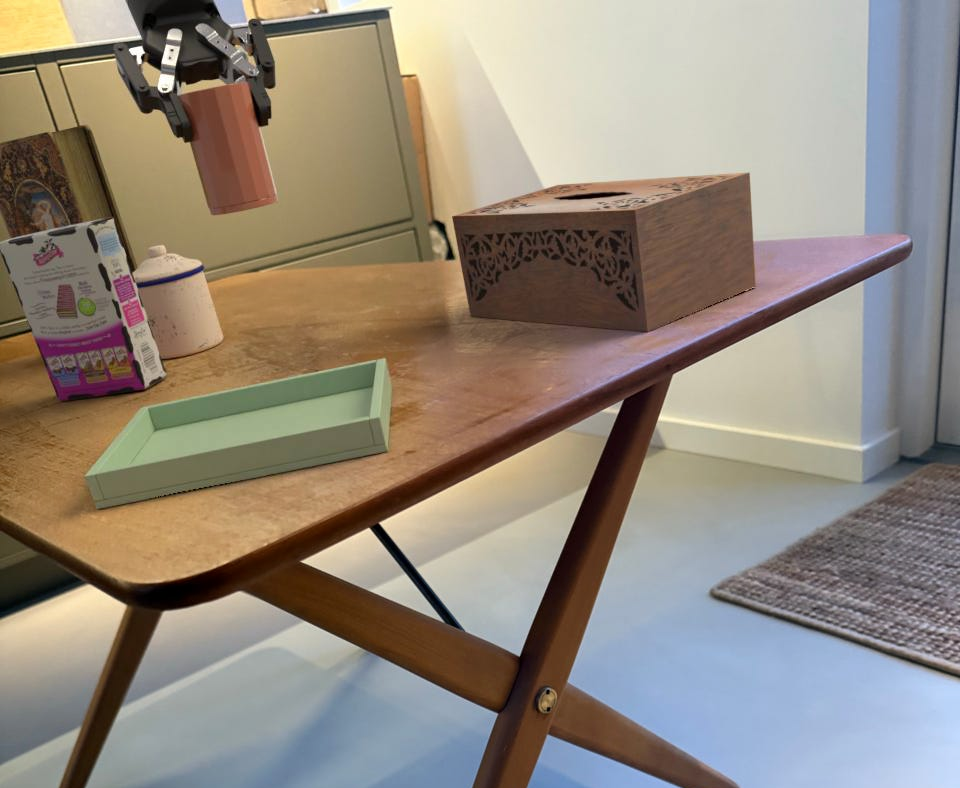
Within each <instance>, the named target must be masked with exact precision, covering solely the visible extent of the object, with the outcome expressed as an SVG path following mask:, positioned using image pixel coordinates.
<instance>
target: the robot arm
mask: <svg viewBox="0 0 960 788" xmlns="http://www.w3.org/2000/svg"><path fill="white" fill-rule="evenodd" d="M124 1H125V3H126V5H127V8H128V11H129V12H130V15H131V18H132V19H133V22H134V24H135V26H136V28H137V32H138V34H139V35H140V38H141V40H142V41H141V45H139V46H135V47H131V48H129V47H128V45H127V44H125V43H124V42H116V43H115V44H114V45H113V48H112V49H113V52H114V57H115V62H116V63H115V64H116V67H117V72H118V74H119V75H120V77H121V79H122V81H123V83H124V84H125V87H126V88H127V90H128V92H129V94H130V95H131V97H132V99H133V101H134V103H135V104H136V106H137V108H138V110H139V111H140V112H141V113H142V114H146V115H148V114H151V113H153V112H154V110H155V111H160V112H161V113H162V114H163V115H164V116H165V118H166V121H167V123H168V125H169V127H170V129H171V132H172V134H173V136H174V137H175V138H177V139H180V138H181V139H182V141H183V142H184V144H187V143H190V142H193V139H192V132H191V126H190V122H189V120H188V118H187V115H186V113H185V111H184V108H183V106H182V104H181V102H180V99H179V97H178V95H181V94H182V91H183V87H184V83H185V85H186V86H189V85H195V84H197V83H199V82H202V81H215V80H220V81H221V82H223V83H224V85H229V84H234V83H240V82H249V84H250V89H251V93H252V97H253V100H254V104H255V108H256V112H257V116H258V120H259V124H260V128H263V127H268V126H269V120H271V119H272V117H273V116H272V115H273V114H272V99H271V98H270V96H269V94H268V91H267V90H272V89H275V87H276V86H277V83H276V82H277V81H276V61H275V59H274V55H273V52H272V49H271V47H270V43H269V41H268V38H267V36H266V32H265V29H264V26H263V23H262V22H261V20H260V19H258V18H250V19H249V20H248V22H247V26H248V27H242V28H241V27H240V28H233V27H232V26H231V25H230V24H228V23H227V22H225V20H223V18H222V16H221V13H220V11H219V8H218V6H217V5H216V2H215V0H124ZM236 46H239V47H240V48H243V50H244V51H245V52H246V53H247V56H248V57H251V58H253V60H254V63H255V65H254V64H252V63H251V62H250V61H248V60H247V59H246V58H244V57H243V55H242V53H241V51H240V49H238V48H236ZM145 63H147V64H148V65H149V66H151V67H152V68H153V69H156V70H158V71H159V72H160V76H159V80H158V83H157V86H154V85H150V84H149V82H148V80H147V79H146V77H145V74H143V73H144V66H143V65H144V64H145ZM266 89H267V90H266Z"/></svg>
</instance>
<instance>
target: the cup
mask: <svg viewBox="0 0 960 788" xmlns="http://www.w3.org/2000/svg"><path fill="white" fill-rule="evenodd" d="M178 97H179V99H180V102H181V104H182V106H183V108H184V111H185V113H186V115H187V118H188V120H189V122H190V126H191V132H192V139H193V142H189V144H190V149H191V152H192V155H193V159H194V162H195V166H196V169H197V172H198V177H199V180H200V184H201V187H202V190H203V194H204V198H205V202H206V205H207V208H208V210H209V212H210V215H211V216H220V215H221V216H222V215H228V214H233V213H239V212H244V211H249V210H253V209H258V208H261V207H265V206H269V205H272V204H275V203H277V202H279V198H278V191H277V187H276V183H275V180H274V177H273V175H274V174H273V172H272V168H271V163H270V160H269V157H268V153H267V152H268V151H267V148H266V144H265V140H264V136H263V133H262V129H261V128H262V127H260V124H259V120H258V116H257V112H256V108H255V104H254V100H253V97H252V93H251V89H250V84H249V82H240V83H234V84H229V85H227V84H224V85H223V84H222V85H218V86H213V87H208V88H203V89H199V90H194V91H189V92H186V93H181V95H178Z"/></svg>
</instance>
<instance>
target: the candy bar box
mask: <svg viewBox="0 0 960 788" xmlns="http://www.w3.org/2000/svg"><path fill="white" fill-rule="evenodd" d="M0 255H1V257H2V260H3V263H4V265H5V267H6V271H7V274H8V276H9V278H10V280H11V283H12V286H13V288H14V291H15V293H16V295H17V298H18V300H19V303H20V305H21V308H22V311H23V313H24V316H25V318H26V321H27V323H28V326H29V328H30V331H31V334H32V336H33V339H34V340H35V343H36V346H37V349H38V351H39V354H40V357H41V359H42V362H43V364H44V367H45V369H46V372H47V374H48V378H49V380H50V382H51V385H52V387H53V390H54V392H55V395H56V398H57V400H58V401H59V402H65V401H73V400H82V399H88V398H94V397H95V398H96V397H103V396H110V395H117V394H123V393H132V392H139V391H145V390H147V389H149V388H151V387H153V386H154V385H156V384H158V383H160V382H161V381H163V380H164V379H166V378H167V377H168V374H167V370H166V368H165V365H164V362H163V359H161V356H160V353H159V350H158V347H157V344H156V341H155V339H154V336H153V332H152V330H151V327H150V324H149V321H148V318H147V315H146V312H145V309H144V306H143V303H142V300H141V298H140V295H139V292H138V288H137V285H136V282H135V280H134V276H133V274H132V271H131V268H130V265H129V262H128V259H127V256H126V253H125V250H124V247H123V244H122V241H121V238H120V235H119V232H118V229H117V226H116V224H115V220H114V217H109V218H104V219H99V220H93V221H88V222H83V223H78V224H73V225H68V226H63V227H59V228H54V229H50V230H45V231H41V232H36V233H32V234H28V235H23V236H19V237H15V238H8V239H5V240H2V241H0Z"/></svg>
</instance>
